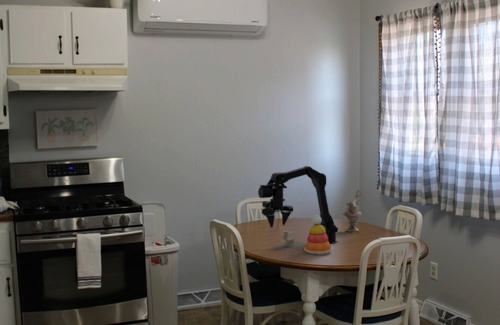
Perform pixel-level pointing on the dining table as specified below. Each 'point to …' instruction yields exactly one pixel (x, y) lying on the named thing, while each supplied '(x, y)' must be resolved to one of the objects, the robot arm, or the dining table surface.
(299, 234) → the dining table surface
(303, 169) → the robot arm
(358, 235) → the dining table surface
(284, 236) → the block
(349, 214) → the decorative bust
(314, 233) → the stacking toy
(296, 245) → the mat
